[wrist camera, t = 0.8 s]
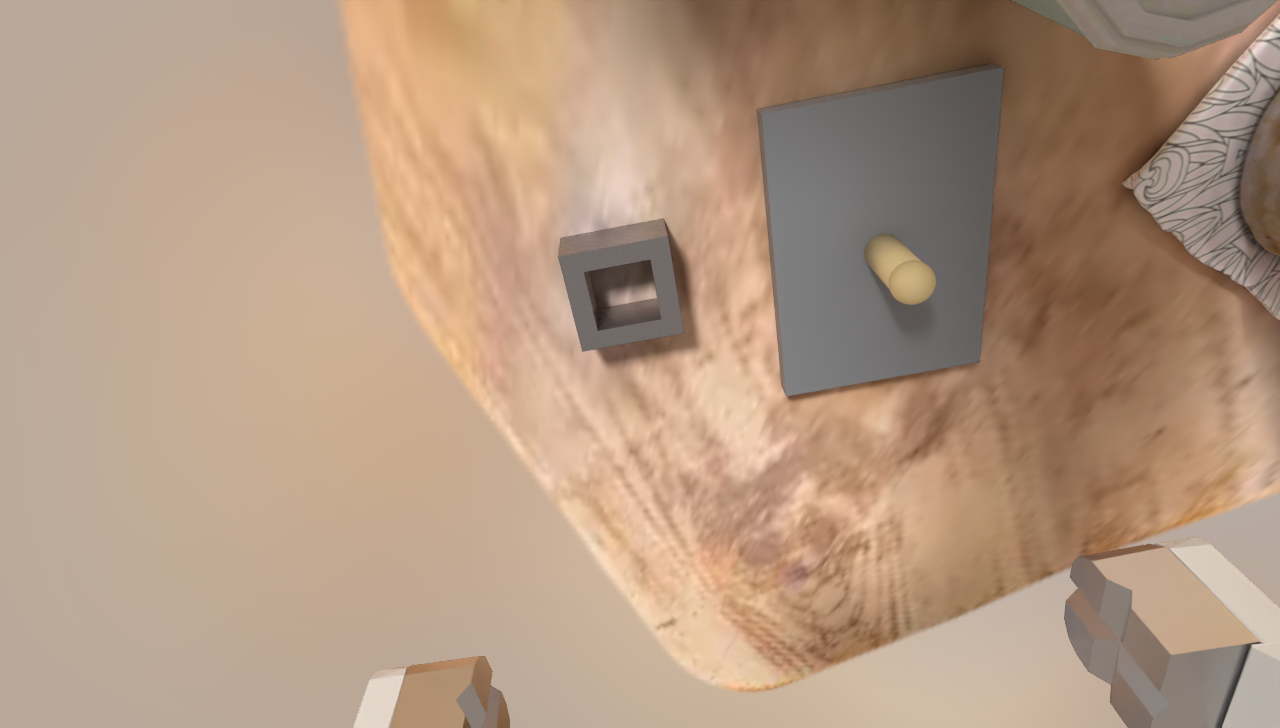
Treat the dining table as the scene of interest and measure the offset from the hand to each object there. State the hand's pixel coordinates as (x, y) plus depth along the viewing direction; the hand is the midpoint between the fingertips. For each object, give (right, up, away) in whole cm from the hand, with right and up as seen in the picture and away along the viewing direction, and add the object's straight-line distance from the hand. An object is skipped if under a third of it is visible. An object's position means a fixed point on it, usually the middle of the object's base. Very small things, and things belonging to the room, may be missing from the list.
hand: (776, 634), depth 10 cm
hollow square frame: (-3, +10, +37) cm, 39 cm away
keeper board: (+14, +12, +37) cm, 41 cm away
